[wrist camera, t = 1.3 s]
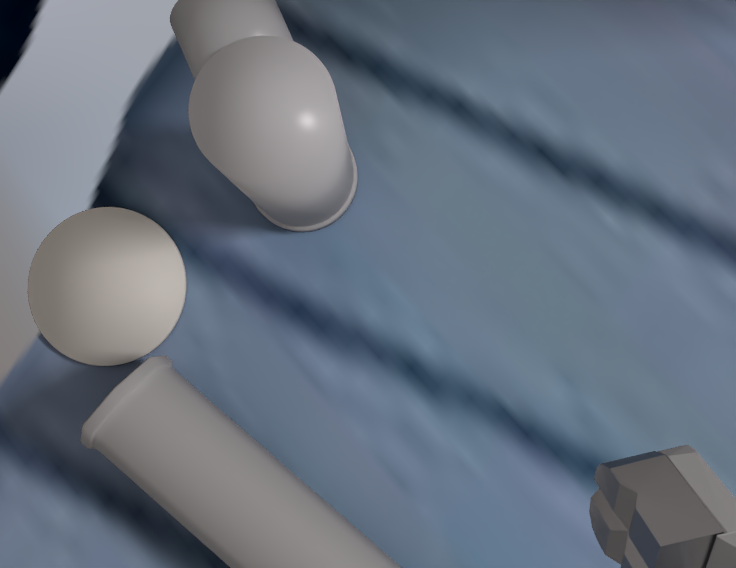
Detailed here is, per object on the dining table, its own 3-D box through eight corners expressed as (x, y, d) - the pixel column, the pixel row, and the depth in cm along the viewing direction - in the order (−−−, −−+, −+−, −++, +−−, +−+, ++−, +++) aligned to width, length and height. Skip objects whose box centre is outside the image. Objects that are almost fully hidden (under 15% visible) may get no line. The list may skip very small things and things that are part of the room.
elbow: (375, 205, 34) (367, 147, 23) (275, 249, 34) (221, 212, 24) (313, 67, 35) (278, -52, 24) (215, 111, 35) (135, 12, 24)
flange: (117, 175, 35) (115, 174, 35) (219, 292, 34) (217, 292, 34) (-1, 280, 35) (-4, 279, 35) (99, 398, 34) (96, 399, 34)
